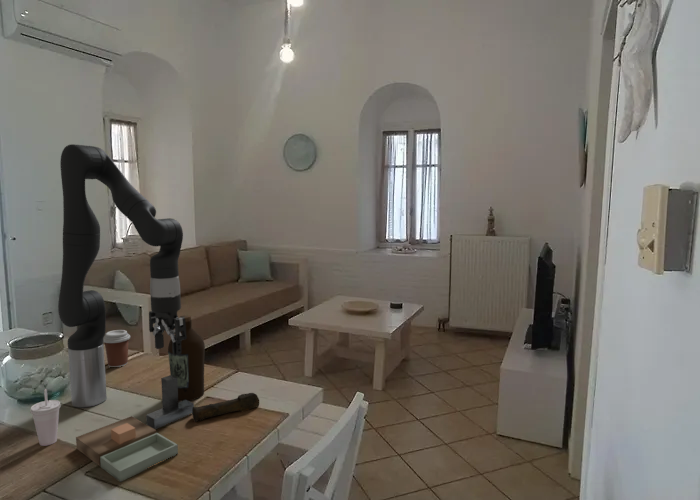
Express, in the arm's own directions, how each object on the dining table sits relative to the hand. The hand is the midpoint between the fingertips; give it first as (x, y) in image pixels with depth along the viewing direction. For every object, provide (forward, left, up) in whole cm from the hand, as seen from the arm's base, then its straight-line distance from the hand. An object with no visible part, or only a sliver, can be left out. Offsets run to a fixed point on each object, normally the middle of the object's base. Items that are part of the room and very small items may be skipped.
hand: (168, 351), depth 130 cm
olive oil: (-10, +12, -20) cm, 25 cm away
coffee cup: (-52, +11, -20) cm, 57 cm away
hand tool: (+9, +12, -20) cm, 25 cm away
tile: (+5, -16, -16) cm, 24 cm away
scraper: (0, 0, -20) cm, 20 cm away
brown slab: (+2, -16, -19) cm, 25 cm away
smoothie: (-13, -26, -20) cm, 35 cm away
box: (+13, -16, -19) cm, 28 cm away
